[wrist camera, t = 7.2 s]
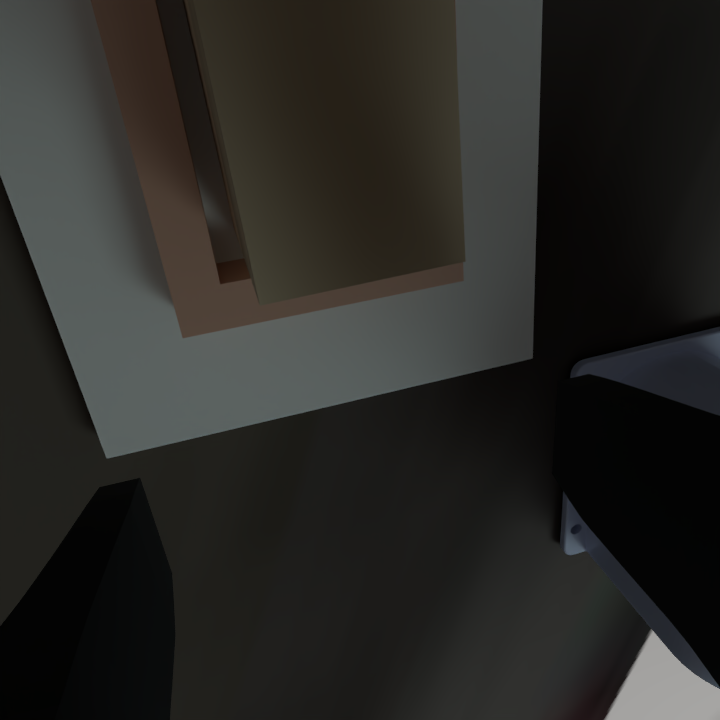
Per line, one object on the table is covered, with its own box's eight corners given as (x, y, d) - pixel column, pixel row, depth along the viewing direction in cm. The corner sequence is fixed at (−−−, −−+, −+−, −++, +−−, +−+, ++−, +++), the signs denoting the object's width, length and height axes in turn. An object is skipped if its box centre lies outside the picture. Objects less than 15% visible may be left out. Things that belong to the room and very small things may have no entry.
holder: (518, 346, 21) (561, 382, 19) (110, 440, 19) (99, 496, 16) (529, -392, 13) (609, -497, 11) (-199, -404, 11) (-313, -544, 8)
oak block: (348, -58, 14) (448, -131, 9) (376, 200, 17) (465, 261, 12) (173, -39, 13) (170, -106, 8) (233, 227, 16) (259, 305, 11)
